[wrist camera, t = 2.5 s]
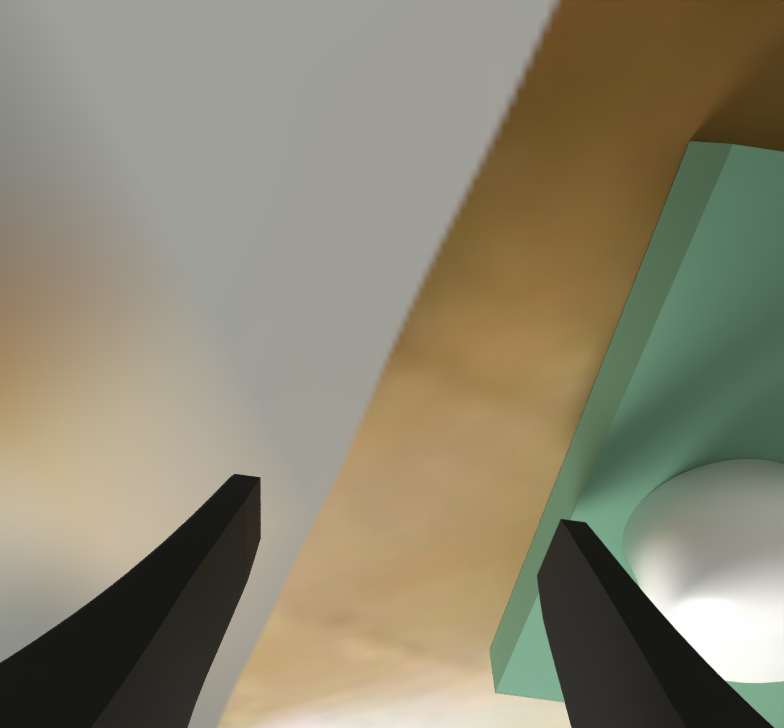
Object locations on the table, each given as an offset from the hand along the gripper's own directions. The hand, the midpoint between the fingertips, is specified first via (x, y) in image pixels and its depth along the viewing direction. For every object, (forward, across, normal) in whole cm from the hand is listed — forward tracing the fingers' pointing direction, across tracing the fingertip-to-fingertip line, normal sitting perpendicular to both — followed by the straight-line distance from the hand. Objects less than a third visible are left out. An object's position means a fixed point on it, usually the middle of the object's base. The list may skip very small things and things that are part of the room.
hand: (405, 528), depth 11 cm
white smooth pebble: (+1, -9, 0) cm, 9 cm away
